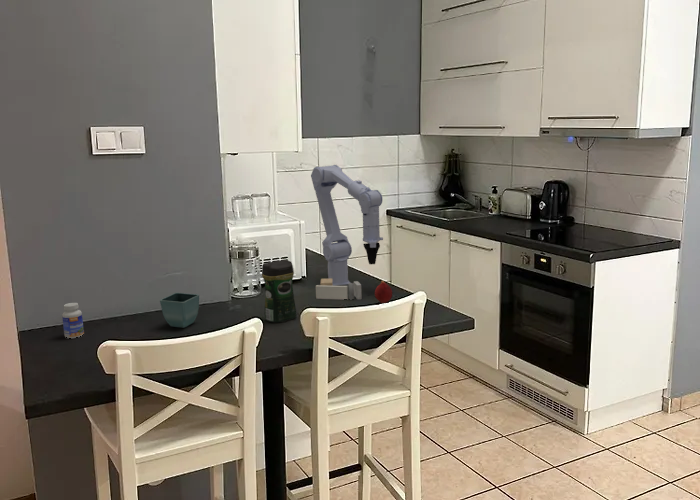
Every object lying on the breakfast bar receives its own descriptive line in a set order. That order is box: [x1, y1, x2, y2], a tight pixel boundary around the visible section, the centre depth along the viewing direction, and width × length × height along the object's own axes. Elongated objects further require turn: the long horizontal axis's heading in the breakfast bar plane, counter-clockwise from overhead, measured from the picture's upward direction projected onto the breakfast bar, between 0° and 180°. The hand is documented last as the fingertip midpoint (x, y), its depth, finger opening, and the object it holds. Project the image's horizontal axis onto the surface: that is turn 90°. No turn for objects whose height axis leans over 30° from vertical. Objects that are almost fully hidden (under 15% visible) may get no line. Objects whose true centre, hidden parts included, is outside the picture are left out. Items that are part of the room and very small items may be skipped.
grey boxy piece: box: [347, 280, 362, 301], centre depth 226 cm, size 5×4×6 cm
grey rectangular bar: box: [315, 284, 349, 300], centre depth 226 cm, size 11×2×4 cm, turn 79°
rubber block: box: [320, 278, 333, 286], centre depth 230 cm, size 6×4×6 cm, turn 0°
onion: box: [374, 280, 393, 304], centre depth 217 cm, size 6×6×8 cm
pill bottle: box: [61, 302, 85, 339], centre depth 194 cm, size 5×5×10 cm
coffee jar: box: [261, 259, 297, 323], centre depth 204 cm, size 10×8×19 cm
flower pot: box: [159, 292, 200, 329], centre depth 201 cm, size 9×9×9 cm
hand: (372, 263), depth 230 cm, fingers closed
